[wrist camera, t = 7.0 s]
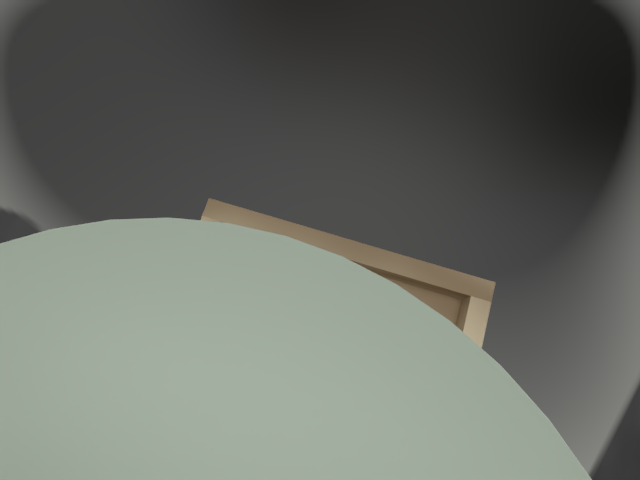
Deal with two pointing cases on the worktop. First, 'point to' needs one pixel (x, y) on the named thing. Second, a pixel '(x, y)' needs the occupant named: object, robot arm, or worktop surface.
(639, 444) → the worktop surface
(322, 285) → the pillar candle
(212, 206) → the tray
